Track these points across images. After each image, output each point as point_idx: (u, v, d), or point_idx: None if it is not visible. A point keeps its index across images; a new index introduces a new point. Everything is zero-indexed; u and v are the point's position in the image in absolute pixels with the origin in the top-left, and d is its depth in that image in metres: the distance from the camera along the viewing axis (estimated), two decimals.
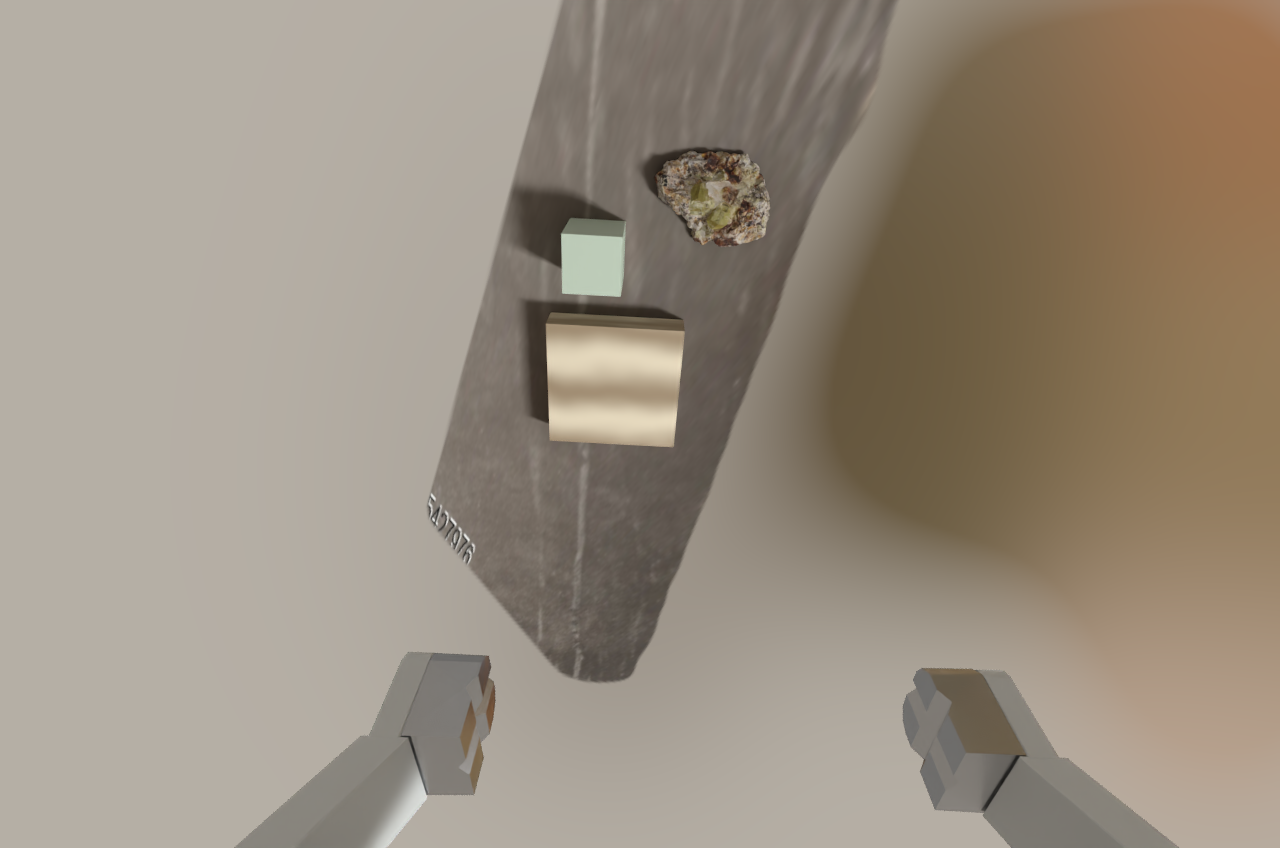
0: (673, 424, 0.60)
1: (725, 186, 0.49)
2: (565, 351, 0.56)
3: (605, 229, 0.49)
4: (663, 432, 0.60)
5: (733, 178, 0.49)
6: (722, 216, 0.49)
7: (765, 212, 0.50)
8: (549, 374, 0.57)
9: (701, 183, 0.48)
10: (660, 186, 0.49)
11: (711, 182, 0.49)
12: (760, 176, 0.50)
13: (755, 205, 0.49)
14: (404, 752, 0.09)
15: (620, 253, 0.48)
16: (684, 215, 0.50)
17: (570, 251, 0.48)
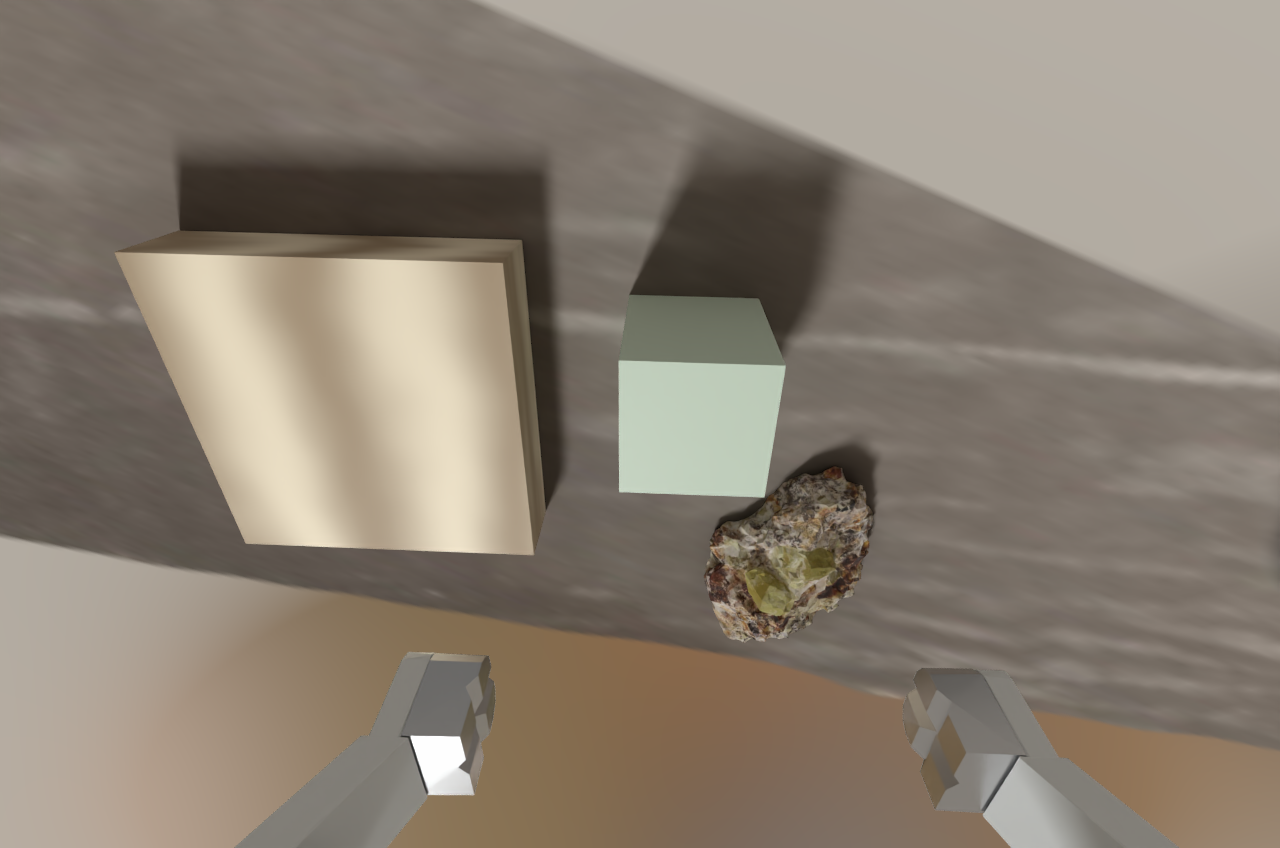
0: (305, 542, 0.26)
1: (815, 587, 0.28)
2: (429, 311, 0.20)
3: None
4: (275, 524, 0.25)
5: (825, 591, 0.29)
6: (776, 605, 0.27)
7: None
8: (344, 264, 0.19)
9: (834, 567, 0.26)
10: (833, 497, 0.25)
11: None
12: (815, 611, 0.30)
13: (782, 630, 0.29)
14: (404, 752, 0.09)
15: (726, 493, 0.20)
16: (774, 535, 0.26)
17: (735, 385, 0.18)
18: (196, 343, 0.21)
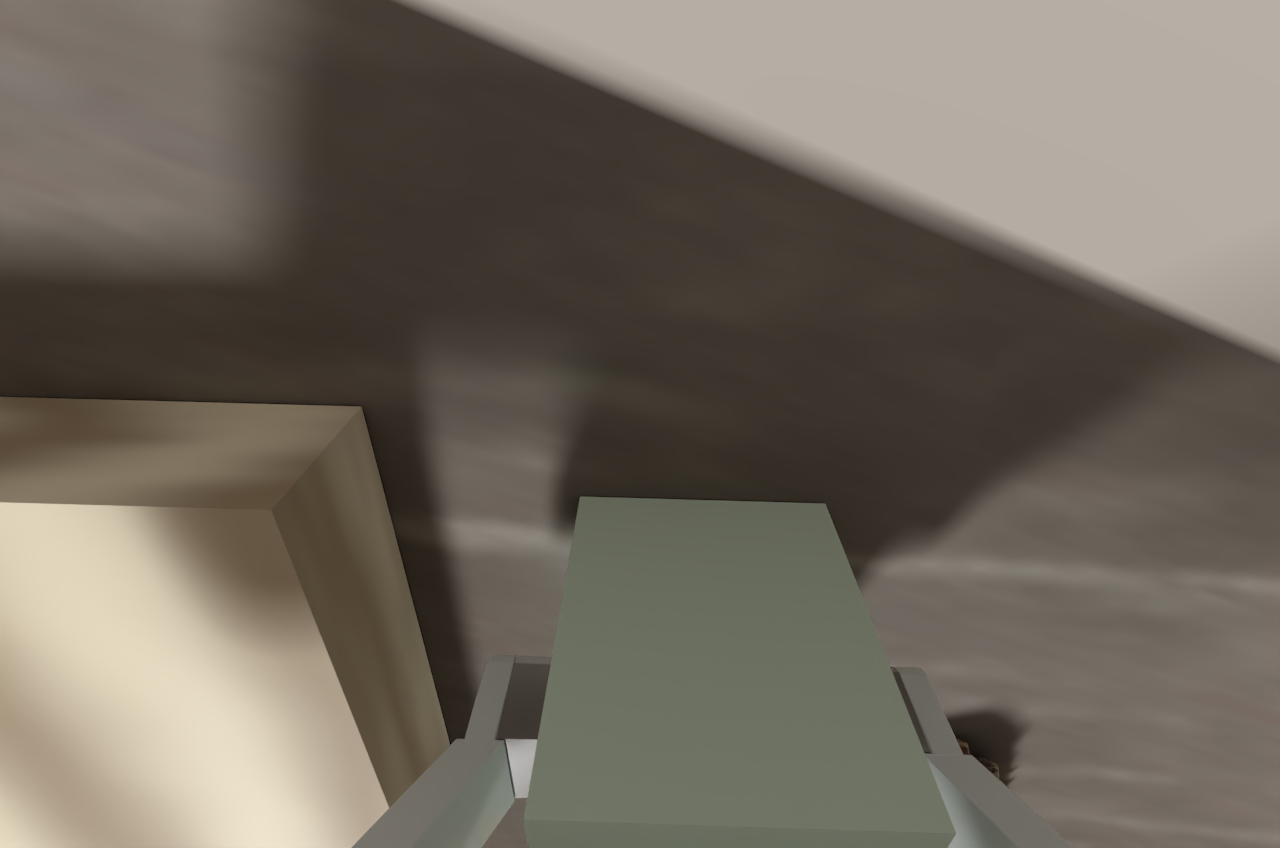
0: None
1: None
2: (133, 591, 0.09)
3: None
4: None
5: None
6: None
7: None
8: None
9: None
10: None
11: None
12: None
13: None
14: (500, 755, 0.09)
15: None
16: None
17: None
18: None
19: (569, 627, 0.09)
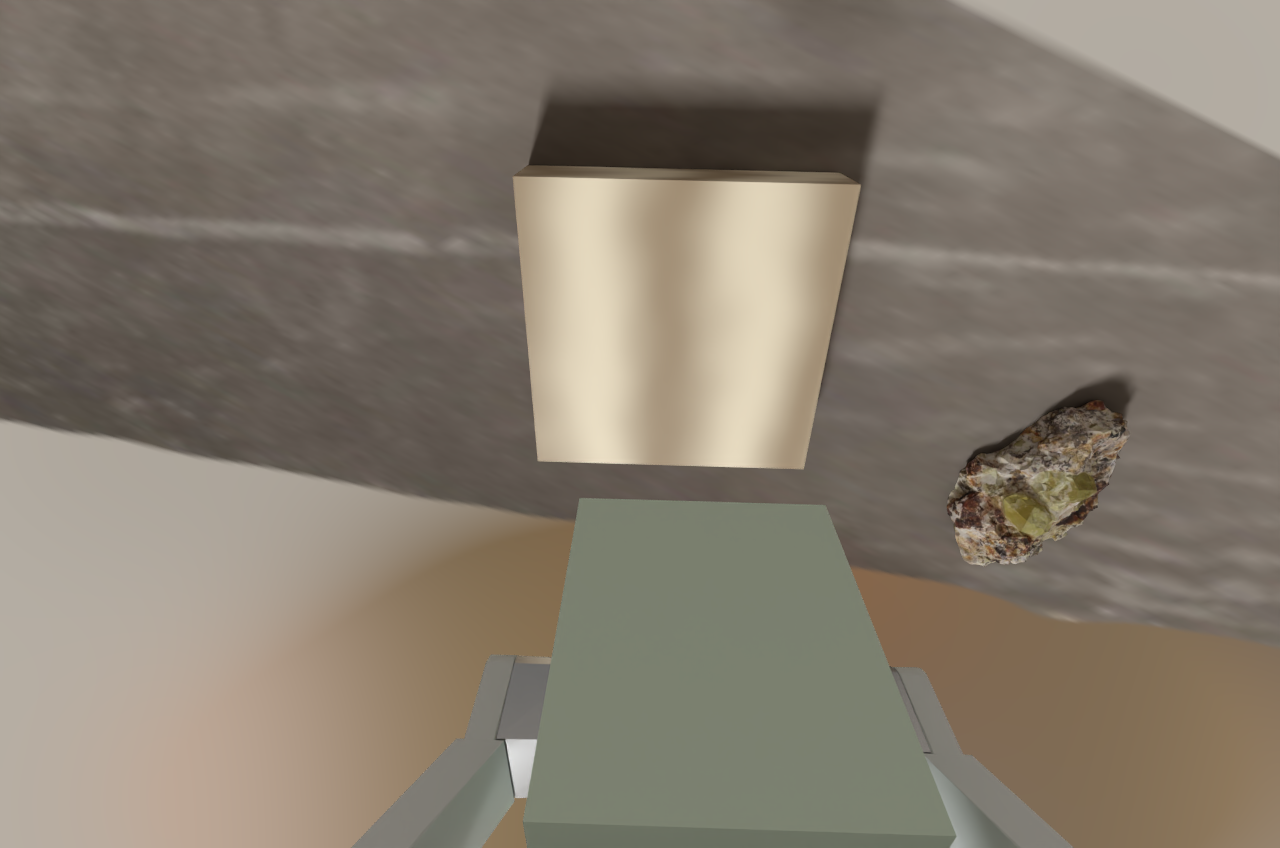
0: (594, 459, 0.28)
1: (1062, 512, 0.31)
2: (780, 231, 0.23)
3: None
4: (572, 441, 0.28)
5: (1065, 518, 0.32)
6: (1038, 525, 0.30)
7: None
8: (718, 186, 0.22)
9: (1095, 490, 0.29)
10: (1105, 425, 0.28)
11: None
12: (1042, 540, 0.33)
13: (1025, 554, 0.32)
14: (499, 755, 0.09)
15: None
16: (1042, 461, 0.29)
17: None
18: (558, 263, 0.23)
19: (569, 629, 0.09)
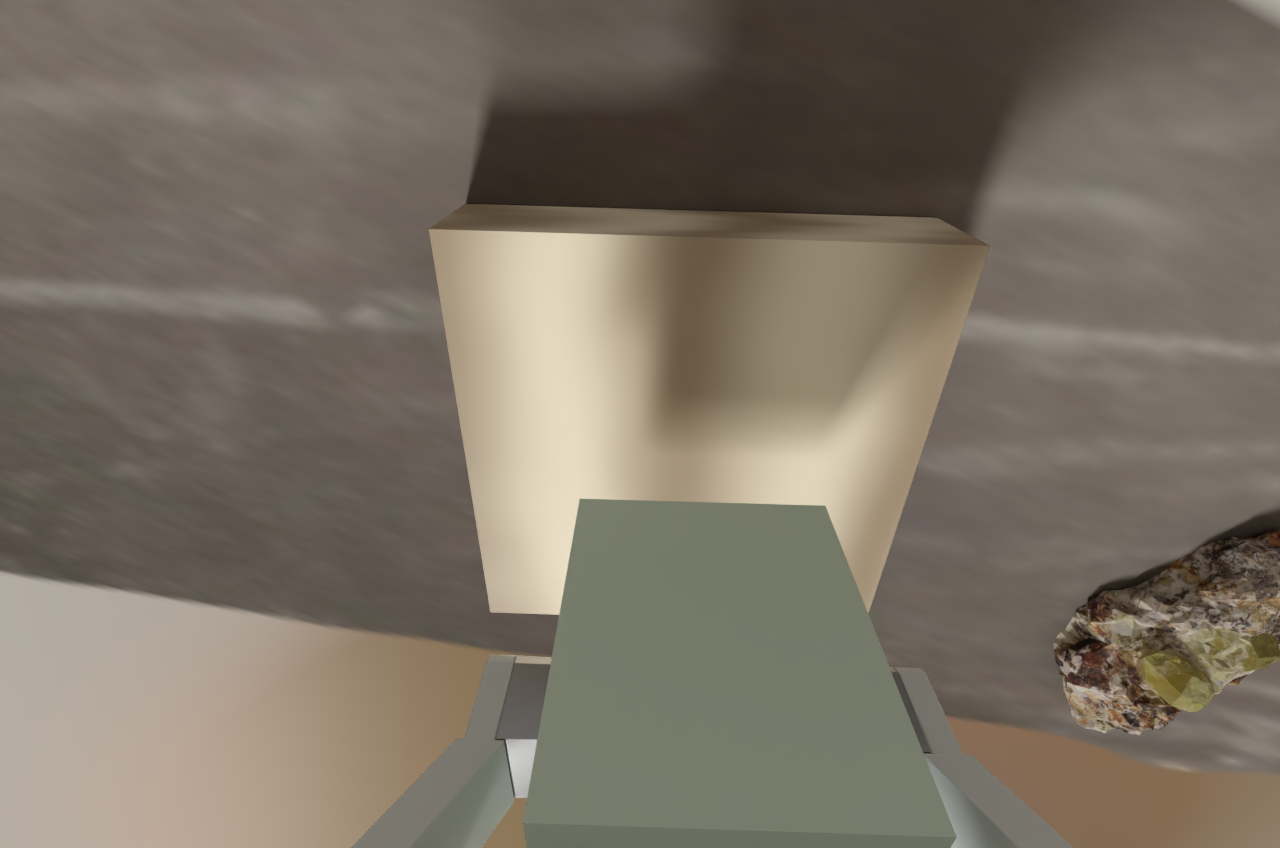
0: None
1: None
2: (855, 314, 0.14)
3: None
4: (537, 590, 0.20)
5: None
6: (1196, 700, 0.22)
7: None
8: (759, 247, 0.14)
9: (1279, 656, 0.21)
10: None
11: None
12: None
13: None
14: (499, 755, 0.09)
15: None
16: (1206, 615, 0.21)
17: None
18: (507, 357, 0.15)
19: (569, 630, 0.09)
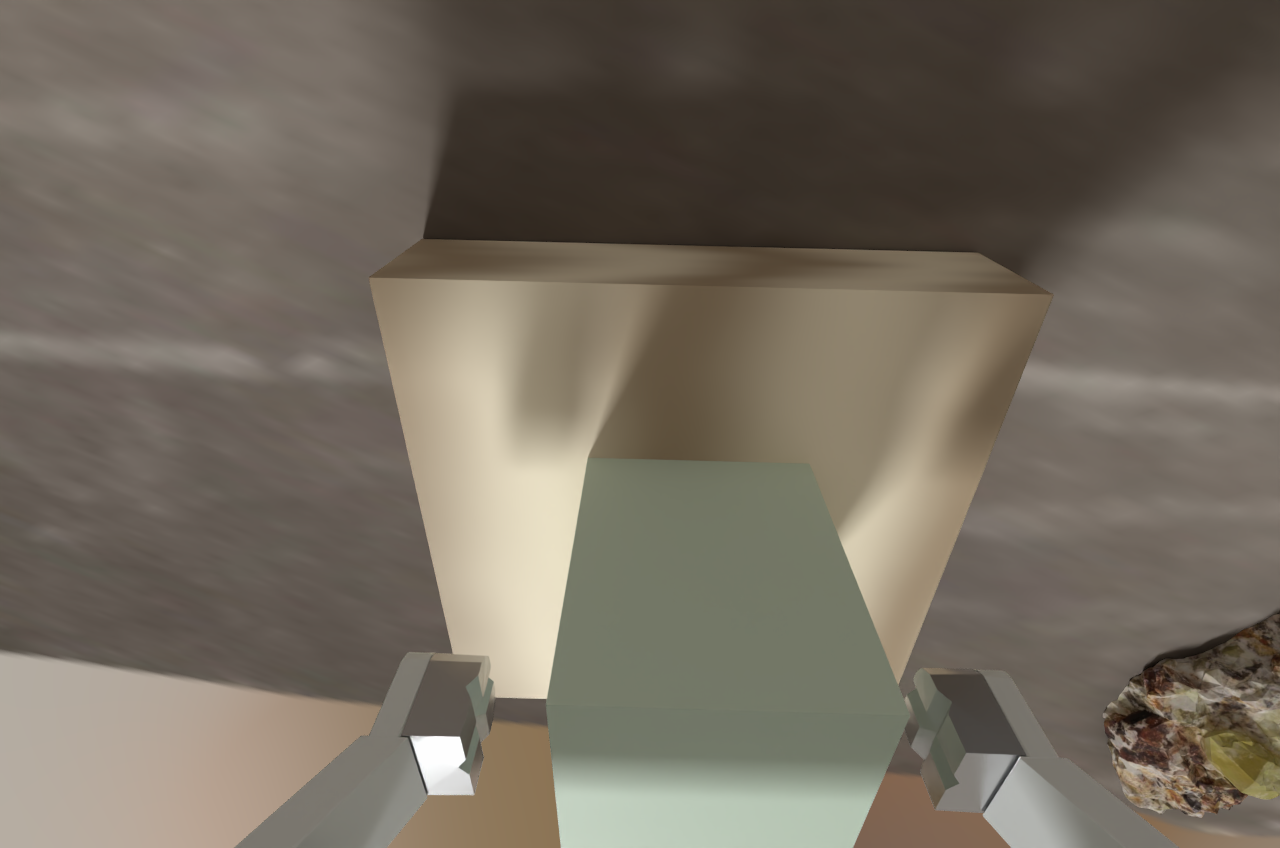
0: None
1: None
2: (887, 374, 0.12)
3: None
4: (516, 673, 0.17)
5: None
6: (1271, 787, 0.19)
7: None
8: (772, 297, 0.11)
9: None
10: None
11: None
12: None
13: None
14: (404, 752, 0.09)
15: None
16: None
17: (798, 742, 0.08)
18: (470, 424, 0.13)
19: (580, 562, 0.10)
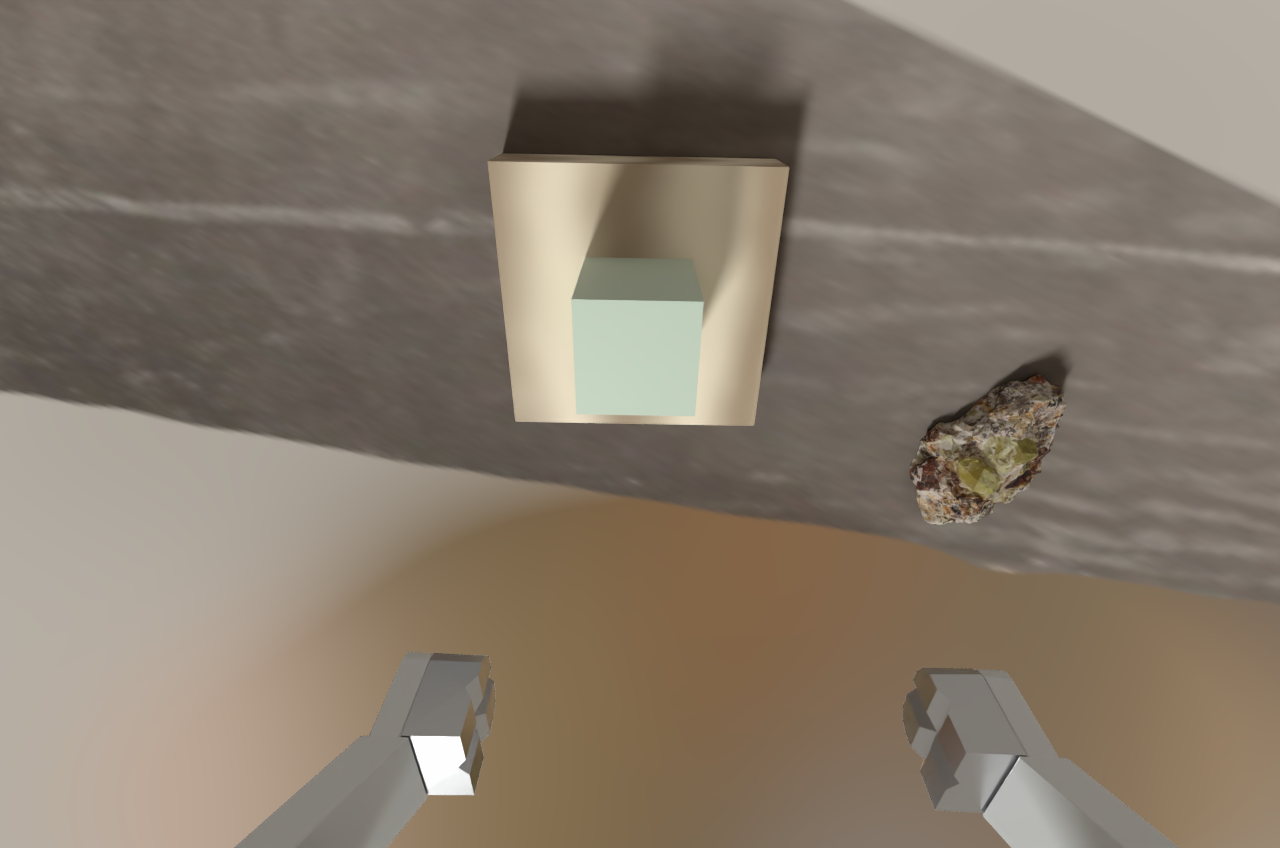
0: (566, 419, 0.32)
1: (1009, 476, 0.35)
2: (722, 208, 0.26)
3: None
4: (546, 403, 0.31)
5: (1013, 482, 0.36)
6: (988, 485, 0.34)
7: None
8: (666, 169, 0.25)
9: (1037, 454, 0.33)
10: (1045, 395, 0.32)
11: None
12: None
13: (977, 514, 0.36)
14: (404, 752, 0.09)
15: (663, 413, 0.24)
16: (991, 428, 0.33)
17: (665, 319, 0.22)
18: (529, 238, 0.27)
19: (582, 278, 0.24)
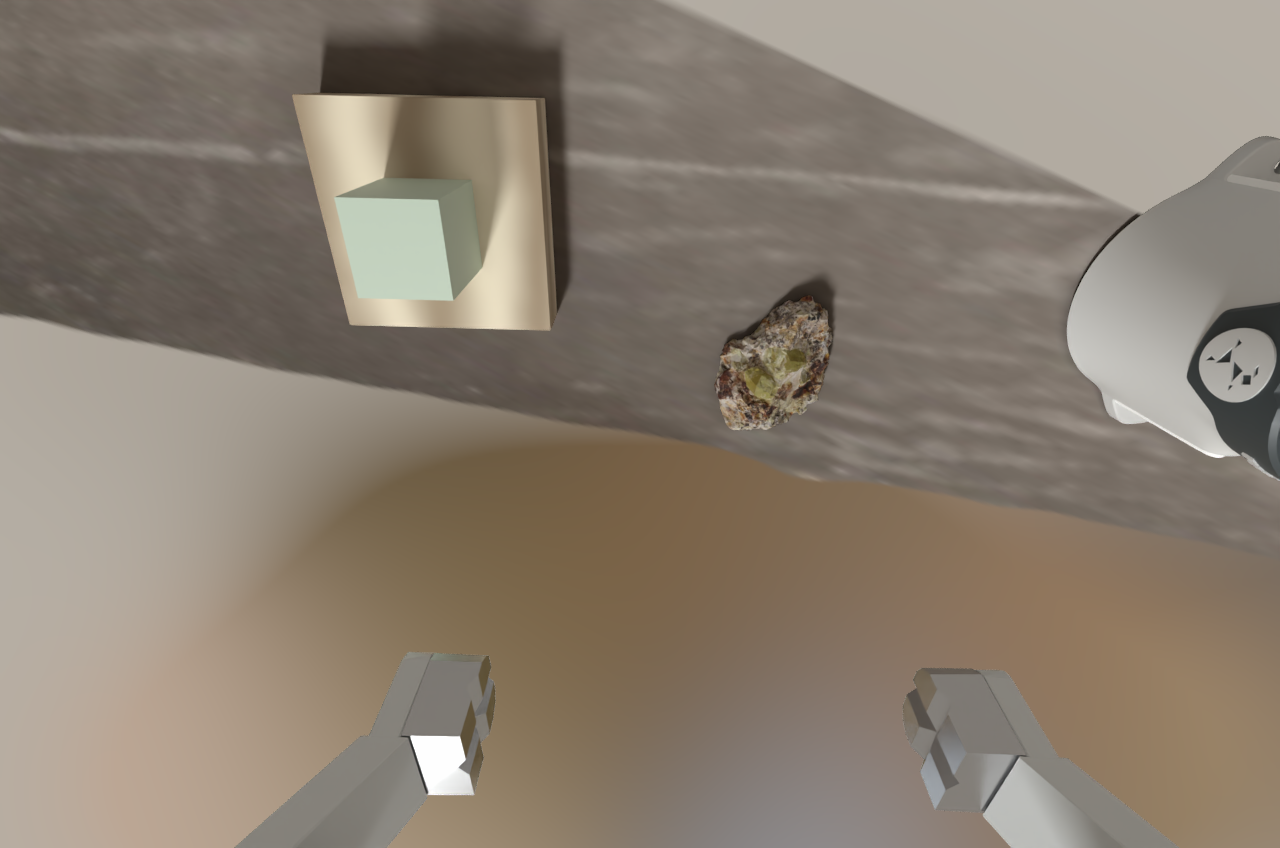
0: (392, 323, 0.38)
1: (792, 385, 0.41)
2: (488, 135, 0.32)
3: (461, 258, 0.32)
4: (372, 308, 0.37)
5: (798, 392, 0.41)
6: (765, 390, 0.39)
7: (755, 427, 0.43)
8: (437, 102, 0.31)
9: (805, 363, 0.39)
10: (806, 310, 0.38)
11: (801, 370, 0.40)
12: (791, 415, 0.43)
13: (768, 419, 0.42)
14: (404, 752, 0.09)
15: (427, 297, 0.30)
16: (766, 340, 0.39)
17: (411, 214, 0.28)
18: (335, 161, 0.33)
19: (362, 187, 0.30)
